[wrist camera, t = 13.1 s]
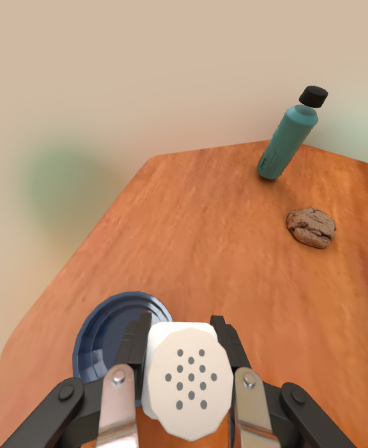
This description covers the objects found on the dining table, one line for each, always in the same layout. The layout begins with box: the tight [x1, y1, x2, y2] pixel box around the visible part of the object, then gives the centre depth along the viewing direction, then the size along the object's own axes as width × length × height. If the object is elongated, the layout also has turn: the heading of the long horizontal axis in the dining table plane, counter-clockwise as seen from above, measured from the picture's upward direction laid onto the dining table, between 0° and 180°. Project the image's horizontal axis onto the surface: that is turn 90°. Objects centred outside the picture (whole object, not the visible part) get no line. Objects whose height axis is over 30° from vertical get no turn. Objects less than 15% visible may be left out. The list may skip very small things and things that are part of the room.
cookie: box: [287, 207, 336, 248], centre depth 39 cm, size 10×11×3 cm
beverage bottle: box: [257, 86, 328, 179], centre depth 40 cm, size 6×7×20 cm
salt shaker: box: [141, 322, 234, 442], centre depth 11 cm, size 4×4×10 cm
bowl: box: [72, 291, 173, 408], centre depth 24 cm, size 12×12×5 cm
